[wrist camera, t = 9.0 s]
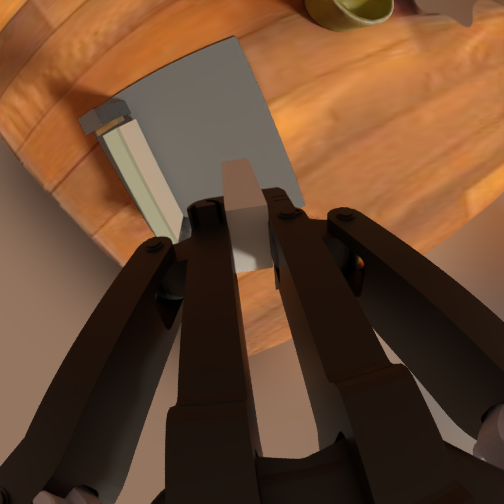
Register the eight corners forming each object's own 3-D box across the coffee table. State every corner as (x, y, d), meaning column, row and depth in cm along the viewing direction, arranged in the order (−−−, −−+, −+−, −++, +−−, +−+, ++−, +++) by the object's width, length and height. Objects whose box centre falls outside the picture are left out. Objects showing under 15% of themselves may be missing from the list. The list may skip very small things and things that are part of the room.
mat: (85, 115, 31) (84, 116, 31) (235, 36, 28) (235, 36, 28) (173, 260, 45) (172, 261, 45) (305, 204, 42) (305, 205, 42)
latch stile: (110, 109, 31) (74, 121, 22) (128, 98, 31) (96, 106, 22) (119, 125, 32) (86, 142, 23) (136, 115, 32) (107, 127, 23)
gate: (185, 212, 40) (178, 247, 32) (175, 216, 40) (166, 252, 33) (138, 117, 32) (115, 128, 24) (128, 123, 32) (102, 136, 24)
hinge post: (172, 218, 41) (160, 264, 31) (189, 210, 41) (181, 255, 31) (181, 233, 42) (172, 282, 33) (198, 226, 42) (193, 274, 32)
